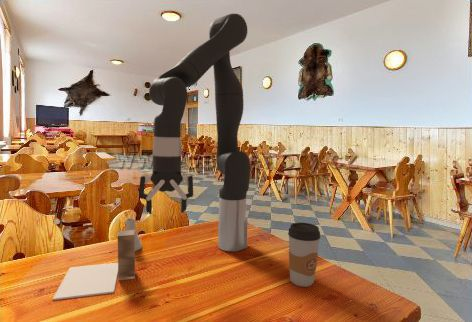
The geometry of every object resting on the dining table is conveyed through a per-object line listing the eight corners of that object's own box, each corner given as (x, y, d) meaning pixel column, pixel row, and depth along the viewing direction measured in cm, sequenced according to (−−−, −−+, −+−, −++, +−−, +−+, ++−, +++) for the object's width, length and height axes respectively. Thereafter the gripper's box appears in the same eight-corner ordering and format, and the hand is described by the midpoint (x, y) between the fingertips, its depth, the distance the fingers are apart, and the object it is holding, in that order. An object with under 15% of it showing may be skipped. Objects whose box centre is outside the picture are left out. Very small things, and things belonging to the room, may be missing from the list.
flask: (145, 245, 101) (145, 216, 100) (136, 253, 94) (136, 223, 93) (125, 243, 102) (124, 215, 101) (114, 252, 95) (114, 222, 94)
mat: (119, 263, 87) (119, 262, 87) (113, 292, 72) (113, 291, 72) (70, 268, 83) (70, 267, 83) (52, 300, 68) (52, 298, 68)
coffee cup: (299, 292, 74) (302, 234, 73) (279, 277, 81) (282, 224, 80) (324, 285, 78) (327, 229, 76) (303, 271, 85) (306, 220, 84)
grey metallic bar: (135, 271, 83) (134, 229, 81) (134, 278, 79) (134, 234, 78) (119, 273, 81) (119, 230, 80) (118, 280, 78) (117, 236, 76)
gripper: (191, 153, 85) (190, 208, 87) (139, 152, 81) (139, 210, 83) (195, 155, 78) (194, 215, 80) (138, 154, 74) (138, 218, 76)
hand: (166, 212), depth 81 cm, fingers open, 8 cm apart
